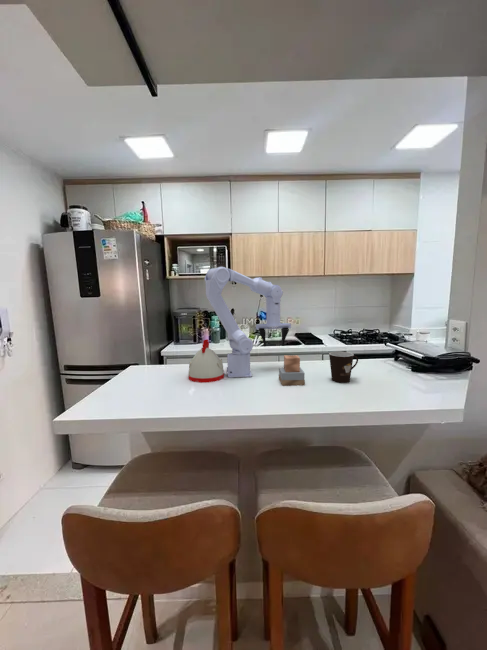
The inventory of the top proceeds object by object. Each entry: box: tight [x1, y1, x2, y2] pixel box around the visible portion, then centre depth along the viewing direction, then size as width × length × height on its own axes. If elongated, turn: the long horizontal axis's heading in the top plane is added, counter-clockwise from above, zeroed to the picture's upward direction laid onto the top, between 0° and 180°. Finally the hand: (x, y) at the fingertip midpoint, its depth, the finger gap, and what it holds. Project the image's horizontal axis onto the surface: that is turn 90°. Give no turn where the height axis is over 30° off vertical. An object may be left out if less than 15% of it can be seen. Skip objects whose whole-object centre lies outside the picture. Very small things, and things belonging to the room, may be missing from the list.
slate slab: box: [278, 367, 305, 380], centre depth 113 cm, size 8×8×2 cm
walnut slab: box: [278, 374, 306, 387], centre depth 113 cm, size 8×8×2 cm
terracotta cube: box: [283, 354, 301, 372], centre depth 112 cm, size 5×5×5 cm
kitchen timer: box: [187, 339, 225, 383], centre depth 120 cm, size 14×14×15 cm
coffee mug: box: [328, 351, 359, 384], centre depth 113 cm, size 12×9×10 cm
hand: (273, 345), depth 129 cm, fingers open, 7 cm apart
